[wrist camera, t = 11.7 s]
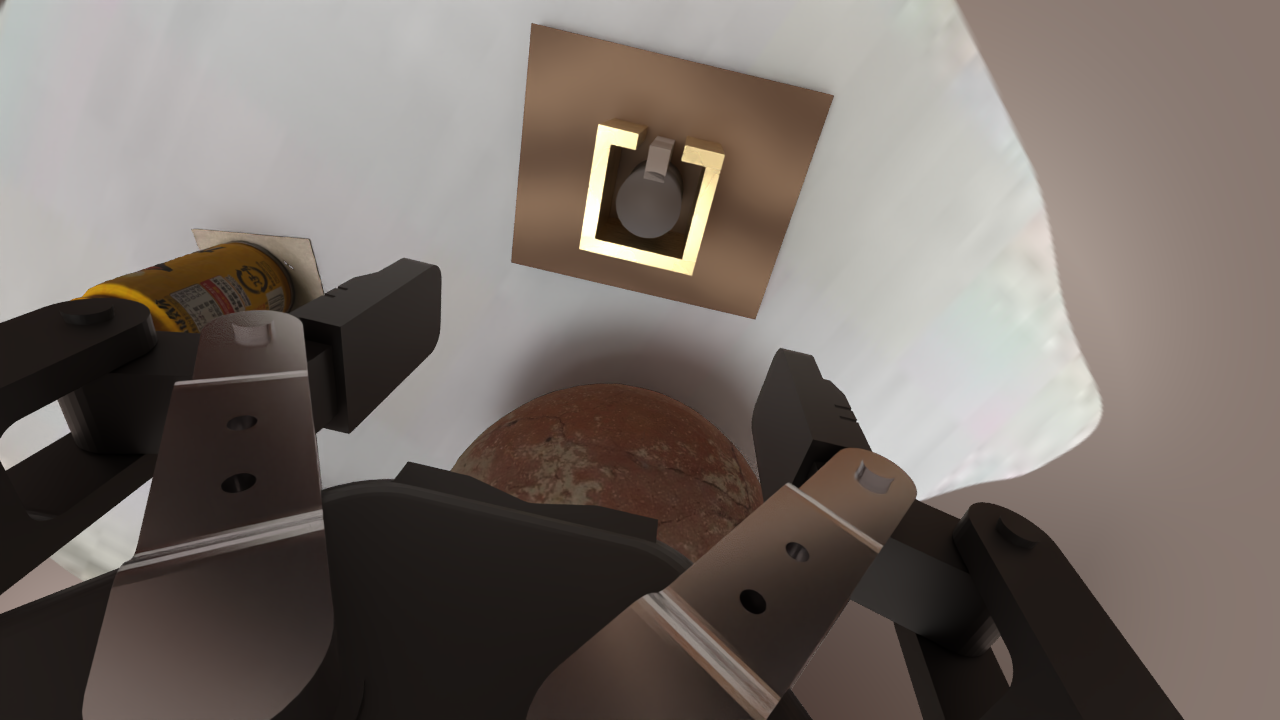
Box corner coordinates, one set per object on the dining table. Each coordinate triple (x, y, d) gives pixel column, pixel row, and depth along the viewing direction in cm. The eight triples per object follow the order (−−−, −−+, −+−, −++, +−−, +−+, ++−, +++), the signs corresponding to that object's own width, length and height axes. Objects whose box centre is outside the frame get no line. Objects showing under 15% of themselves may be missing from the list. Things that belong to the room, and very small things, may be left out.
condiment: (194, 228, 35) (-20, 289, 25) (310, 238, 35) (142, 305, 24) (229, 324, 39) (54, 413, 28) (335, 334, 38) (198, 429, 28)
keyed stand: (753, 310, 34) (763, 355, 28) (518, 255, 34) (482, 290, 28) (827, 94, 28) (861, 97, 22) (539, 25, 27) (498, 10, 22)
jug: (809, 495, 41) (1008, 1230, 15) (594, 575, 48) (470, 1164, 22) (667, 274, 33) (554, 980, 7) (437, 409, 40) (-41, 1005, 14)
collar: (692, 248, 31) (691, 275, 26) (596, 225, 31) (579, 248, 26) (720, 143, 28) (725, 154, 23) (614, 117, 28) (598, 124, 23)
